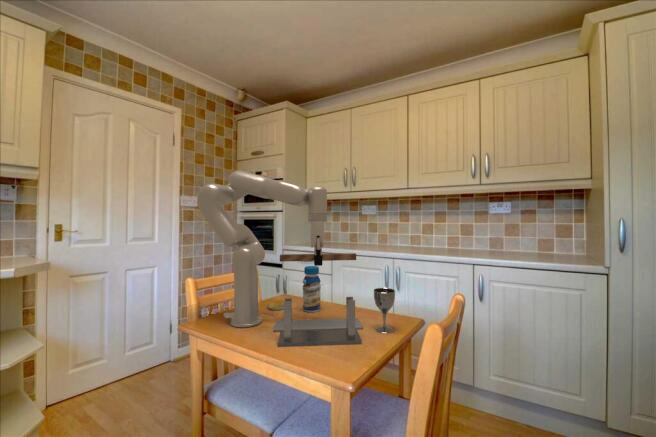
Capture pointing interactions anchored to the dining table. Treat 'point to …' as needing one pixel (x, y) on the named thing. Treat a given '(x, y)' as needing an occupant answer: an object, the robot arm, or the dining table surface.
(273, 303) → the bread roll
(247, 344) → the dining table surface
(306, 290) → the beverage bottle
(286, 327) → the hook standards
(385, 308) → the wine glass
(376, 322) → the dining table surface
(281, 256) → the walnut rail
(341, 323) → the grey mat
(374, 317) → the dining table surface
